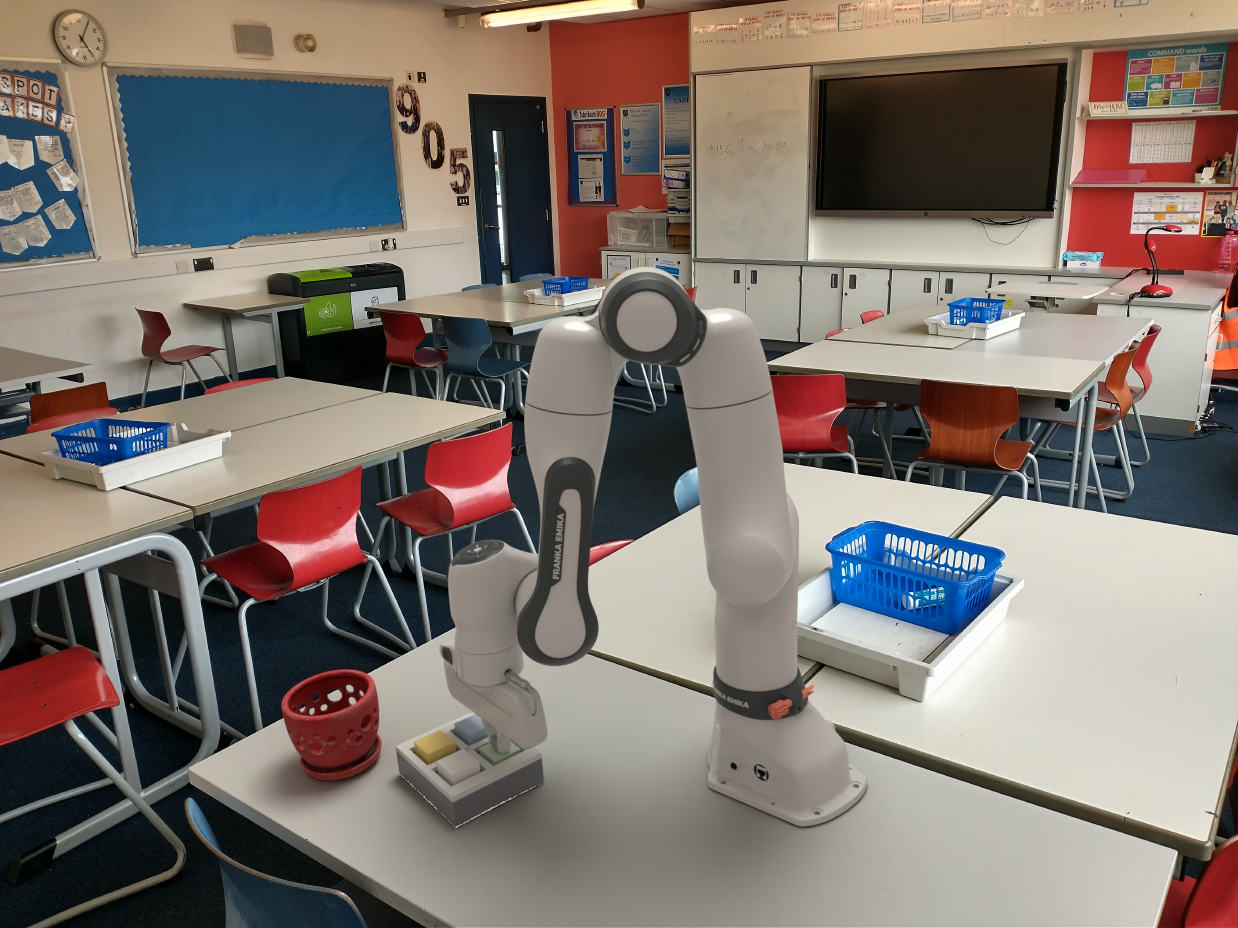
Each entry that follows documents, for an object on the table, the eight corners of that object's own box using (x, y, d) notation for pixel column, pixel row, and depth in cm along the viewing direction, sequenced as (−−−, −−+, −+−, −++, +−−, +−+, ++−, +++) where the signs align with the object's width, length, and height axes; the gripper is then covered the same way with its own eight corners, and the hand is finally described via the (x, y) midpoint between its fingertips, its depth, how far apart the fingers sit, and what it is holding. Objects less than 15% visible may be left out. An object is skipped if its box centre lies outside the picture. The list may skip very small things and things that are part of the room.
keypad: (544, 782, 132) (541, 752, 130) (456, 828, 123) (452, 797, 122) (483, 735, 144) (480, 708, 142) (399, 774, 135) (395, 745, 134)
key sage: (522, 764, 132) (520, 748, 131) (496, 777, 129) (494, 761, 129) (505, 752, 135) (504, 736, 134) (480, 764, 133) (478, 748, 132)
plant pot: (315, 737, 146) (303, 667, 143) (398, 737, 145) (388, 667, 141) (278, 789, 134) (264, 715, 130) (367, 791, 132) (355, 715, 129)
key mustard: (457, 757, 133) (455, 741, 132) (430, 770, 130) (428, 753, 129) (442, 745, 136) (440, 729, 135) (415, 757, 133) (413, 741, 133)
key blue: (496, 739, 136) (494, 723, 136) (471, 751, 134) (469, 735, 133) (481, 727, 140) (479, 712, 139) (456, 738, 137) (454, 723, 136)
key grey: (481, 778, 128) (479, 761, 127) (454, 791, 125) (451, 774, 124) (465, 764, 131) (463, 748, 130) (438, 777, 128) (436, 761, 128)
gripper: (554, 677, 121) (562, 770, 125) (471, 626, 137) (481, 711, 141) (513, 695, 118) (523, 790, 122) (432, 641, 133) (444, 727, 137)
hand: (500, 747), depth 131 cm, fingers closed
